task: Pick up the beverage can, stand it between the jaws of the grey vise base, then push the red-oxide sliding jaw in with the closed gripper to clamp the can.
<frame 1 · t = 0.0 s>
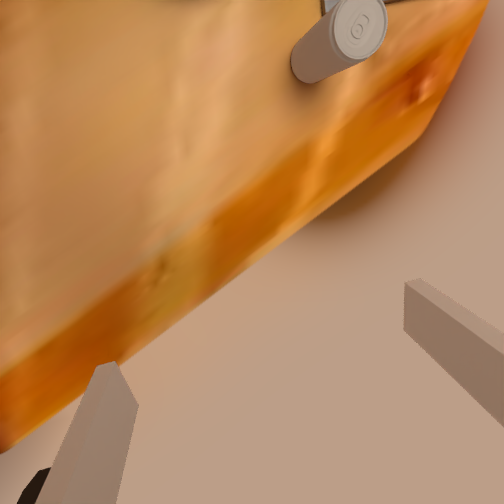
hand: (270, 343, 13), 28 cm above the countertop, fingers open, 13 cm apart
beverage can: (308, 61, 34), on the countertop
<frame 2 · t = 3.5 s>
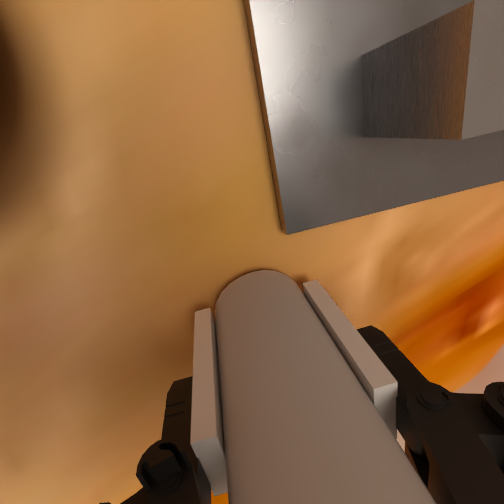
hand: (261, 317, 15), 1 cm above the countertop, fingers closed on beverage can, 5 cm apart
beverage can: (257, 302, 16), on the countertop, touching gripper
when the fingers open (3 cm above the countertop, at t = 8.3 s): beverage can stays where it is, resting on grey vise base.
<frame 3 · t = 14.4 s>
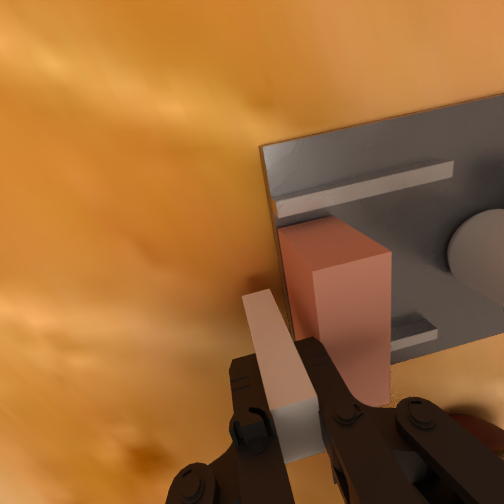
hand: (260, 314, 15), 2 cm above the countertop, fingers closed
grey vise base: (463, 237, 18), on the countertop
jaw: (331, 312, 14), point 4 cm above the countertop, slide at 0.0 cm, touching gripper
vase: (436, 441, 27), on the countertop
beverage can: (474, 243, 17), point 1 cm above the countertop, touching grey vise base
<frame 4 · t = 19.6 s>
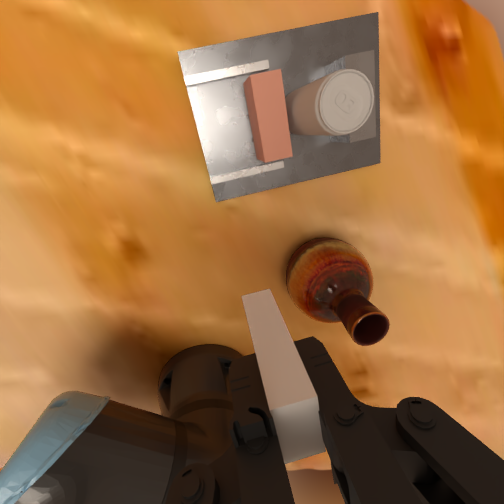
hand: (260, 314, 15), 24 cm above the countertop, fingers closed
grey vise base: (296, 112, 34), on the countertop
jaw: (267, 119, 31), point 4 cm above the countertop, slide at 6.0 cm
vase: (314, 264, 43), on the countertop
beverage can: (298, 112, 34), point 1 cm above the countertop, touching grey vise base
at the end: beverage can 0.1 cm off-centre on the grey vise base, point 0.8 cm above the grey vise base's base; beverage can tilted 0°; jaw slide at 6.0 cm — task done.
